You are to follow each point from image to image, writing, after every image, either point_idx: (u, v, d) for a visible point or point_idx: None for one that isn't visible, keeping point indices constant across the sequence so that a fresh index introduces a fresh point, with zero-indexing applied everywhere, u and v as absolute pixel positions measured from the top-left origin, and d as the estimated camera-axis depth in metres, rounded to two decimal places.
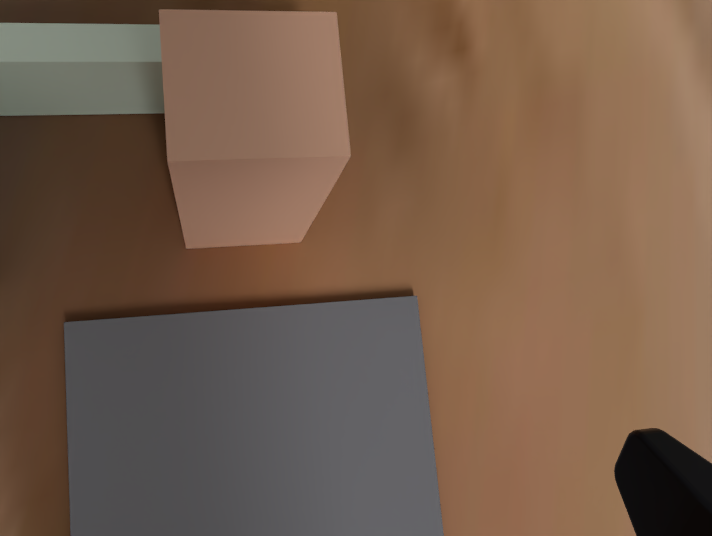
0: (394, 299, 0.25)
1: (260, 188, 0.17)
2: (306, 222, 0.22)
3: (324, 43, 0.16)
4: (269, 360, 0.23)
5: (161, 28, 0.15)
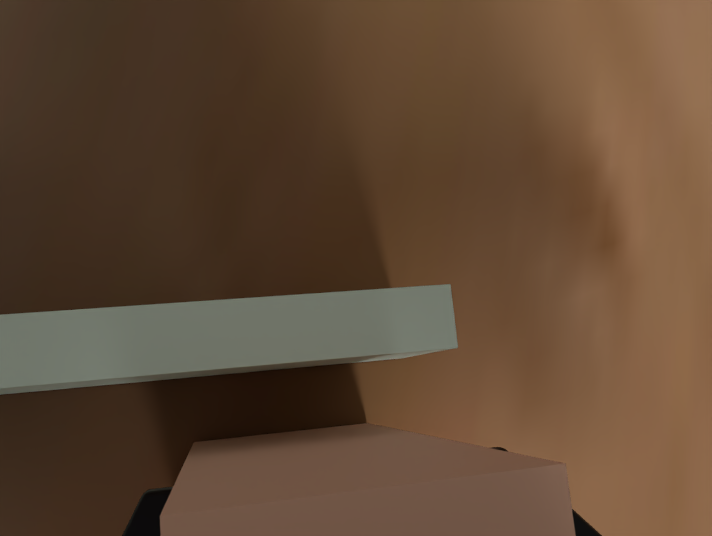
0: None
1: None
2: None
3: None
4: None
5: None
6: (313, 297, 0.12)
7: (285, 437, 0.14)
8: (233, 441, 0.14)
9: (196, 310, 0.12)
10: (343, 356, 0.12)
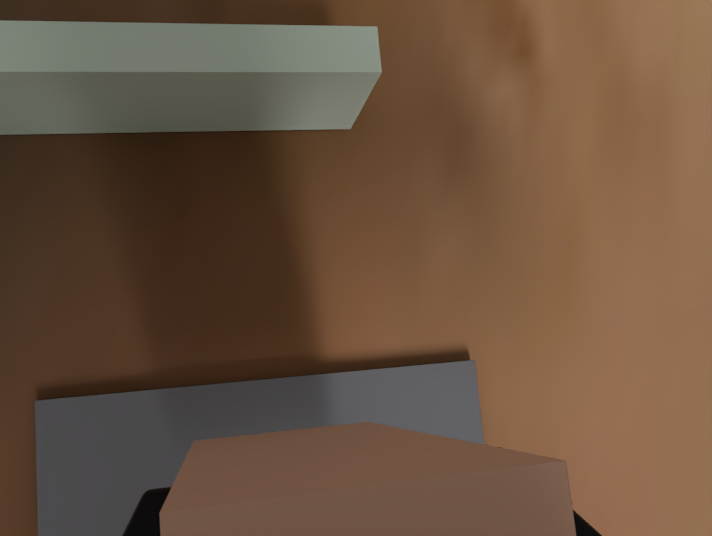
0: (447, 365, 0.20)
1: None
2: None
3: None
4: None
5: None
6: (271, 27, 0.16)
7: (285, 436, 0.14)
8: (233, 440, 0.14)
9: (183, 29, 0.16)
10: (293, 71, 0.16)
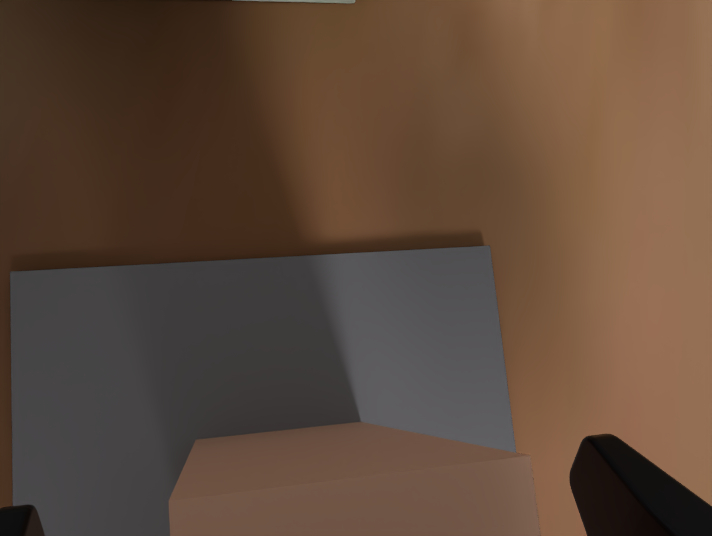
0: (460, 249, 0.18)
1: None
2: None
3: (508, 531, 0.08)
4: (293, 328, 0.17)
5: None
6: None
7: (282, 435, 0.15)
8: (233, 438, 0.15)
9: None
10: None
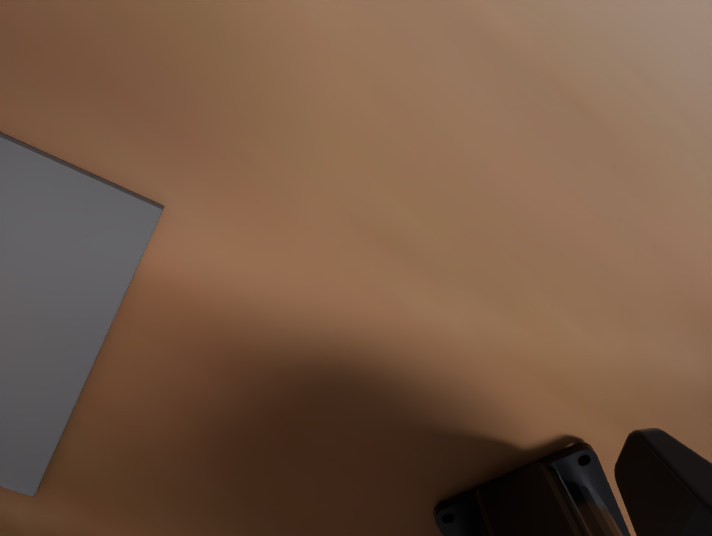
0: None
1: None
2: None
3: None
4: None
5: None
6: None
7: None
8: None
9: None
10: None
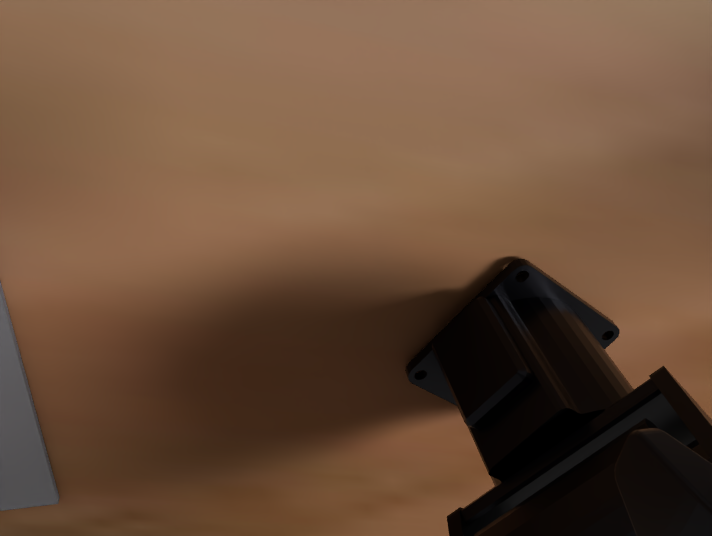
0: None
1: None
2: None
3: None
4: None
5: None
6: None
7: None
8: None
9: None
10: None
